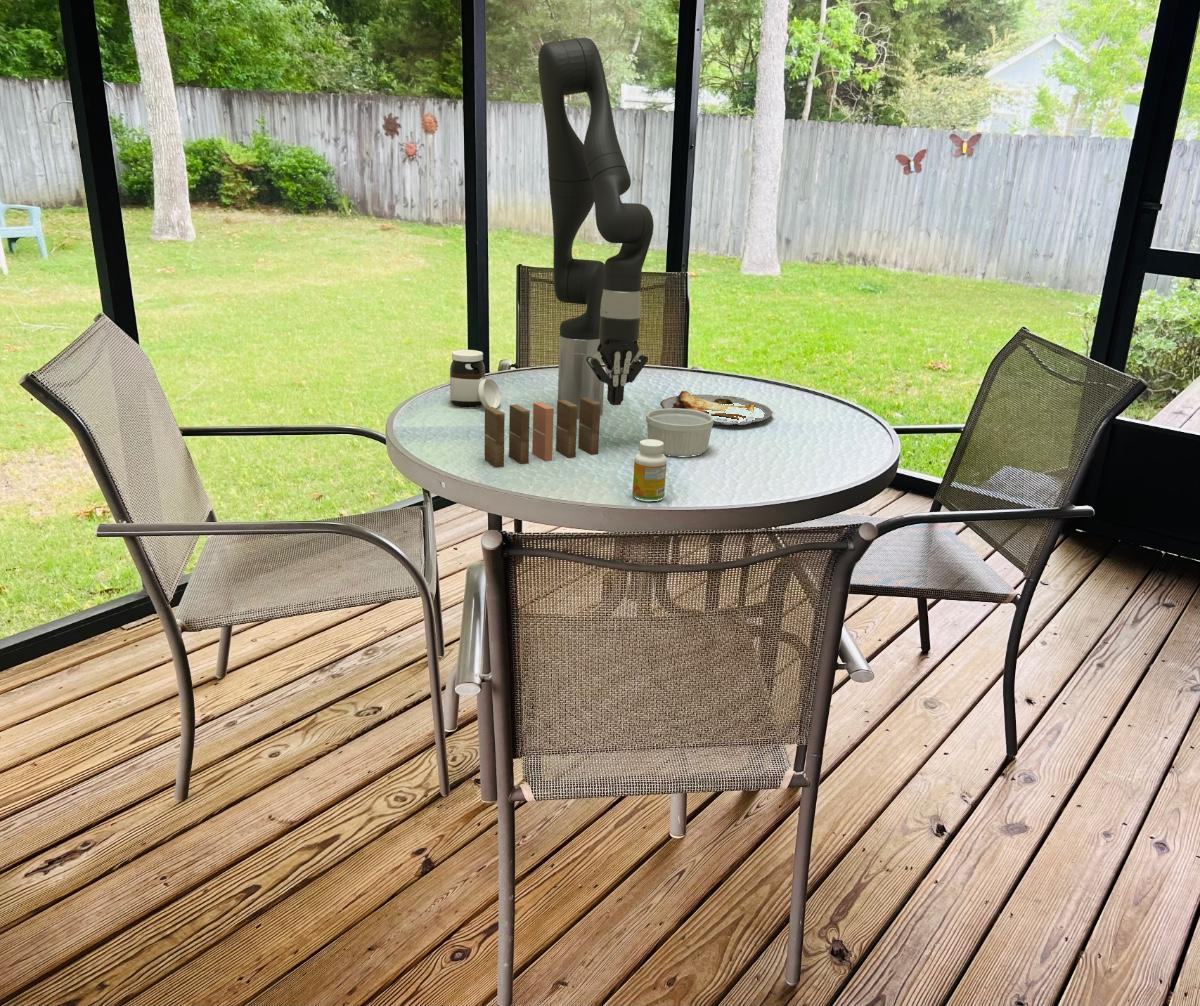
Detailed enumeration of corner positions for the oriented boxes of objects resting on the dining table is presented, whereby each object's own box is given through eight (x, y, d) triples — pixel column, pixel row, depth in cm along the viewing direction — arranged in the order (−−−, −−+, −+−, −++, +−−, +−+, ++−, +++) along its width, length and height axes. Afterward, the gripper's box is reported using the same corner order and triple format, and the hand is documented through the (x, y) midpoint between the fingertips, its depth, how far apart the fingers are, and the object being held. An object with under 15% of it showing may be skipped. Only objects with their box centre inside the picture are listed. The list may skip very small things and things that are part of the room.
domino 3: (539, 452, 182) (540, 402, 178) (552, 460, 178) (553, 408, 174) (532, 453, 181) (533, 402, 177) (544, 461, 177) (546, 409, 173)
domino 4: (563, 449, 184) (564, 399, 181) (575, 457, 180) (577, 405, 177) (555, 450, 183) (557, 400, 180) (568, 458, 179) (570, 406, 176)
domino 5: (585, 447, 187) (587, 397, 183) (598, 454, 183) (600, 403, 179) (578, 448, 186) (580, 398, 182) (590, 455, 182) (593, 404, 178)
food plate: (646, 418, 209) (647, 403, 208) (677, 398, 229) (679, 383, 228) (757, 438, 201) (759, 422, 200) (779, 415, 221) (782, 400, 220)
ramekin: (633, 443, 191) (635, 409, 189) (690, 438, 196) (693, 405, 194) (662, 462, 180) (665, 427, 177) (723, 457, 185) (726, 422, 182)
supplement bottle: (630, 491, 163) (633, 437, 160) (661, 492, 163) (665, 438, 160) (634, 502, 158) (637, 446, 154) (666, 503, 158) (670, 447, 155)
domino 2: (516, 455, 179) (517, 404, 176) (528, 463, 175) (529, 410, 172) (508, 456, 178) (509, 405, 175) (520, 464, 174) (521, 411, 171)
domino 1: (492, 459, 177) (492, 406, 173) (504, 466, 173) (504, 413, 169) (484, 460, 176) (484, 407, 172) (495, 467, 172) (496, 414, 168)
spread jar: (452, 398, 218) (452, 347, 214) (502, 399, 219) (502, 349, 215) (447, 411, 207) (446, 358, 203) (499, 413, 208) (499, 360, 204)
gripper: (599, 318, 172) (594, 411, 178) (660, 316, 178) (654, 406, 184) (579, 312, 178) (575, 402, 184) (639, 310, 184) (634, 397, 190)
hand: (615, 404), depth 184 cm, fingers closed
